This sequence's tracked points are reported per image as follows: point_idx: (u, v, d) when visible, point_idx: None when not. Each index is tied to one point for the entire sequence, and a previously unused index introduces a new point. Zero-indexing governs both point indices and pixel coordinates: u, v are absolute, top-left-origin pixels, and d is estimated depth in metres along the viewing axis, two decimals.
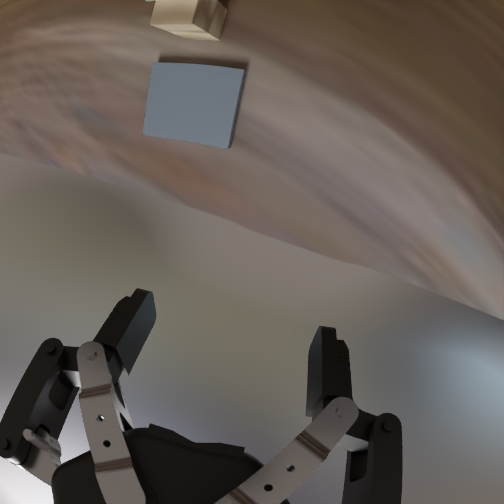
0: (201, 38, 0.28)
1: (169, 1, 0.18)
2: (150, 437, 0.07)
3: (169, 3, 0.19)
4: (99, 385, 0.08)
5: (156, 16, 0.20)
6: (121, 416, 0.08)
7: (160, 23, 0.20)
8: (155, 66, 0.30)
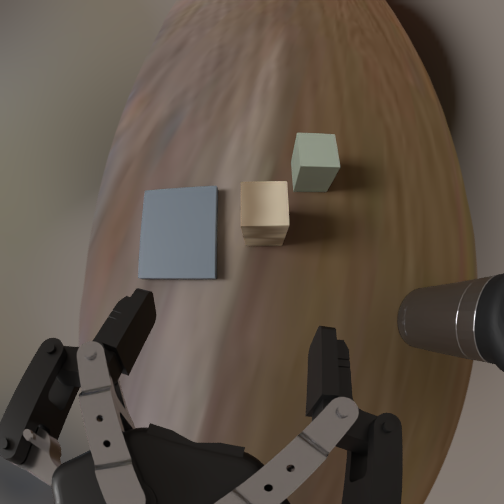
0: None
1: (268, 196, 0.29)
2: (150, 437, 0.07)
3: (265, 196, 0.29)
4: (99, 385, 0.08)
5: (249, 186, 0.29)
6: (121, 416, 0.08)
7: (241, 193, 0.29)
8: (212, 189, 0.39)
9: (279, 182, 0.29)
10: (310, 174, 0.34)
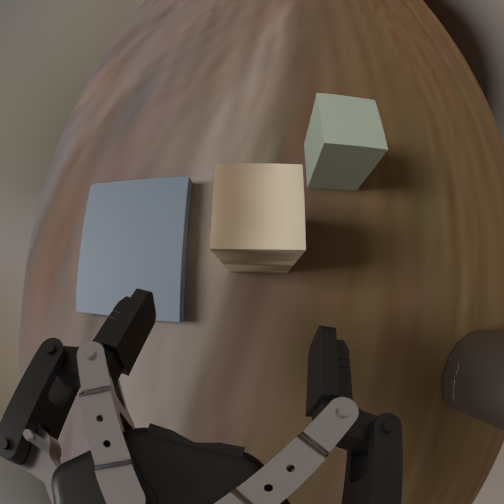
0: None
1: (266, 190, 0.15)
2: (150, 437, 0.07)
3: (260, 192, 0.15)
4: (99, 385, 0.08)
5: (231, 173, 0.15)
6: (121, 416, 0.08)
7: (215, 184, 0.15)
8: (181, 181, 0.25)
9: (288, 166, 0.15)
10: (338, 160, 0.20)
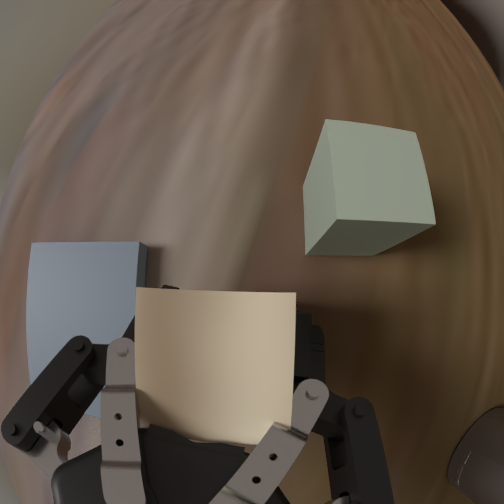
0: None
1: (224, 348, 0.08)
2: (150, 437, 0.07)
3: (214, 351, 0.08)
4: (124, 383, 0.08)
5: (162, 309, 0.08)
6: None
7: (137, 327, 0.08)
8: (130, 249, 0.17)
9: (268, 296, 0.08)
10: (356, 234, 0.13)
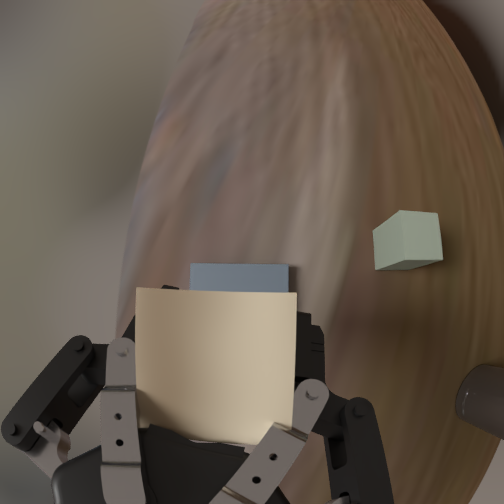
0: None
1: (225, 348, 0.08)
2: (150, 437, 0.07)
3: (214, 351, 0.08)
4: (124, 383, 0.08)
5: (163, 309, 0.08)
6: None
7: (138, 327, 0.08)
8: (282, 268, 0.31)
9: (268, 296, 0.08)
10: (407, 263, 0.26)
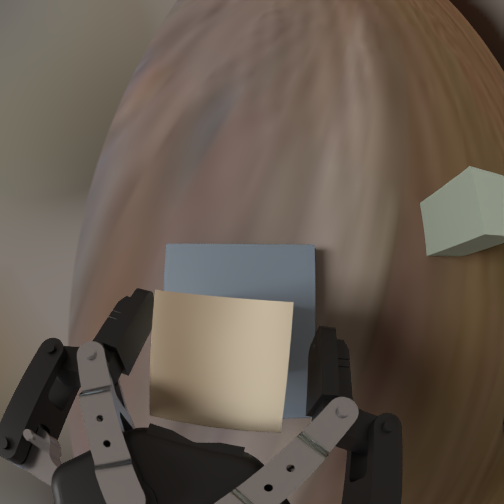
0: None
1: (229, 346, 0.09)
2: (150, 437, 0.07)
3: (221, 348, 0.09)
4: (99, 385, 0.08)
5: (177, 310, 0.10)
6: (121, 416, 0.08)
7: (154, 324, 0.10)
8: (306, 251, 0.20)
9: (269, 304, 0.10)
10: (478, 242, 0.16)
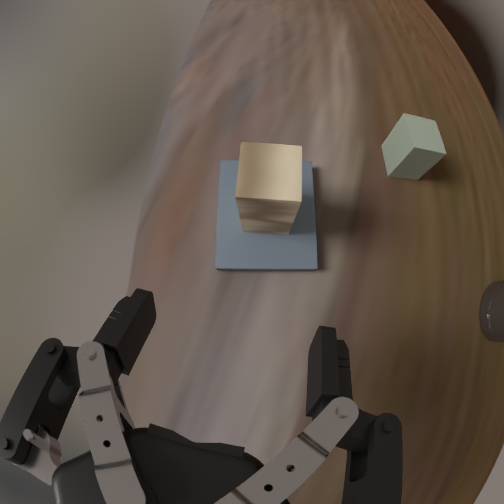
0: None
1: (275, 161, 0.21)
2: (150, 437, 0.07)
3: (272, 162, 0.21)
4: (99, 385, 0.08)
5: (252, 148, 0.21)
6: (121, 416, 0.08)
7: (240, 155, 0.22)
8: (306, 164, 0.32)
9: (291, 146, 0.22)
10: (416, 158, 0.28)
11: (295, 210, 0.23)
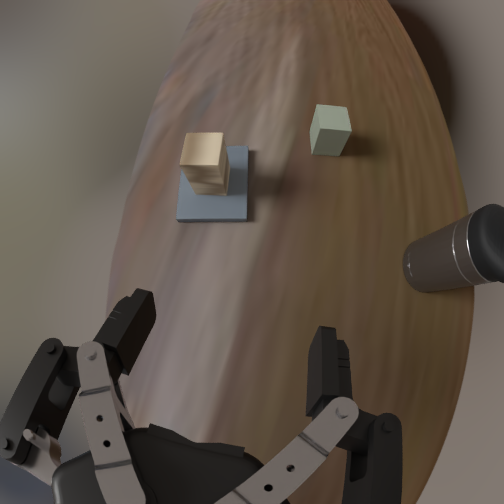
0: None
1: (205, 143, 0.34)
2: (150, 437, 0.07)
3: (203, 143, 0.34)
4: (99, 385, 0.08)
5: (192, 136, 0.34)
6: (121, 416, 0.08)
7: (185, 141, 0.34)
8: (244, 148, 0.44)
9: (216, 133, 0.34)
10: (327, 137, 0.40)
11: (218, 172, 0.35)
